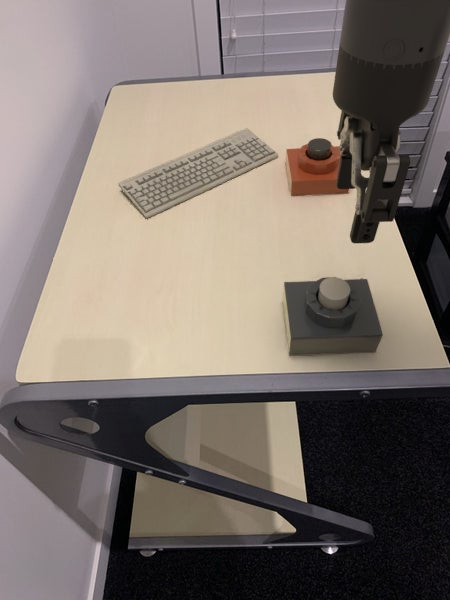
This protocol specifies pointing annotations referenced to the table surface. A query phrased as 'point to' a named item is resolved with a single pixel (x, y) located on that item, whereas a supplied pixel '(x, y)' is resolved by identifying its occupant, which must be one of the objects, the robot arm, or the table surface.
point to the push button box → (330, 320)
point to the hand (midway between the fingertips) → (353, 212)
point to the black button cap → (319, 149)
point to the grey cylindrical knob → (333, 293)
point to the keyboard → (196, 172)
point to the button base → (312, 172)
